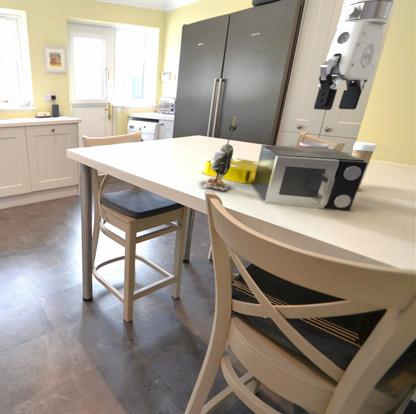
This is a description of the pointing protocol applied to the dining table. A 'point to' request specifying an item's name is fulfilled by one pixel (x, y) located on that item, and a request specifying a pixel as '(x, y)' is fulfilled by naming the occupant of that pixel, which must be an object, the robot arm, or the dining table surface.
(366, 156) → the sprinkles bottle
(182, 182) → the dining table surface
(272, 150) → the microwave
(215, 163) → the plant with pod
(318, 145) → the canned food
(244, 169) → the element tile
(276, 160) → the microwave door
